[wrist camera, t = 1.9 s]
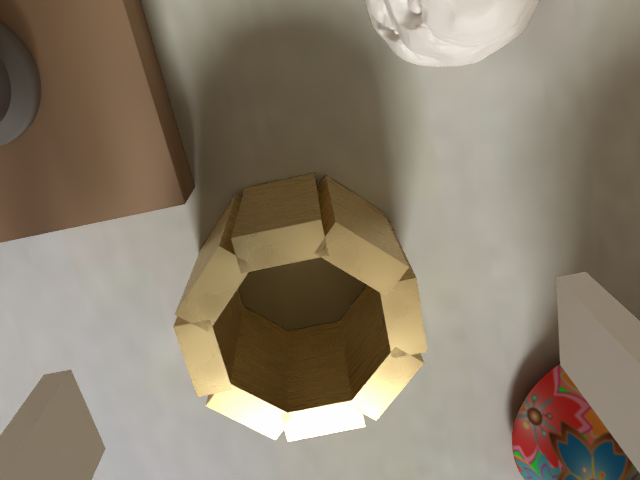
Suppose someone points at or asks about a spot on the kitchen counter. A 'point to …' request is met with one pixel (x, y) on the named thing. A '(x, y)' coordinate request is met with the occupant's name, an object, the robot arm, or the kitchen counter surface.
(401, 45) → the garlic bulb
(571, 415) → the mug
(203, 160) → the kitchen counter surface
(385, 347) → the ring
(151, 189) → the shaft block
